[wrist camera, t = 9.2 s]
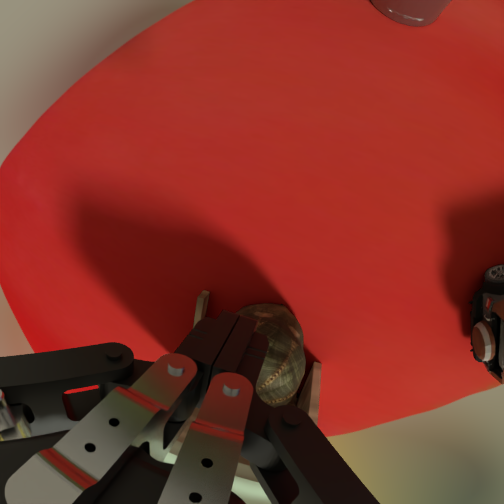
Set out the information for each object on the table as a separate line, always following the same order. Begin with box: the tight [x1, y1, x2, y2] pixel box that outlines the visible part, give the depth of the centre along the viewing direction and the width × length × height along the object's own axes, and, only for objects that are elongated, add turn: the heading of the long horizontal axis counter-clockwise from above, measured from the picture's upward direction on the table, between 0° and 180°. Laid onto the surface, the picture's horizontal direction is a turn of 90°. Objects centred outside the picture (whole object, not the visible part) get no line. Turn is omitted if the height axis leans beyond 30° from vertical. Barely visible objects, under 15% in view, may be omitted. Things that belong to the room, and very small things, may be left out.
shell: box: [236, 303, 306, 408], centre depth 32 cm, size 11×11×12 cm
